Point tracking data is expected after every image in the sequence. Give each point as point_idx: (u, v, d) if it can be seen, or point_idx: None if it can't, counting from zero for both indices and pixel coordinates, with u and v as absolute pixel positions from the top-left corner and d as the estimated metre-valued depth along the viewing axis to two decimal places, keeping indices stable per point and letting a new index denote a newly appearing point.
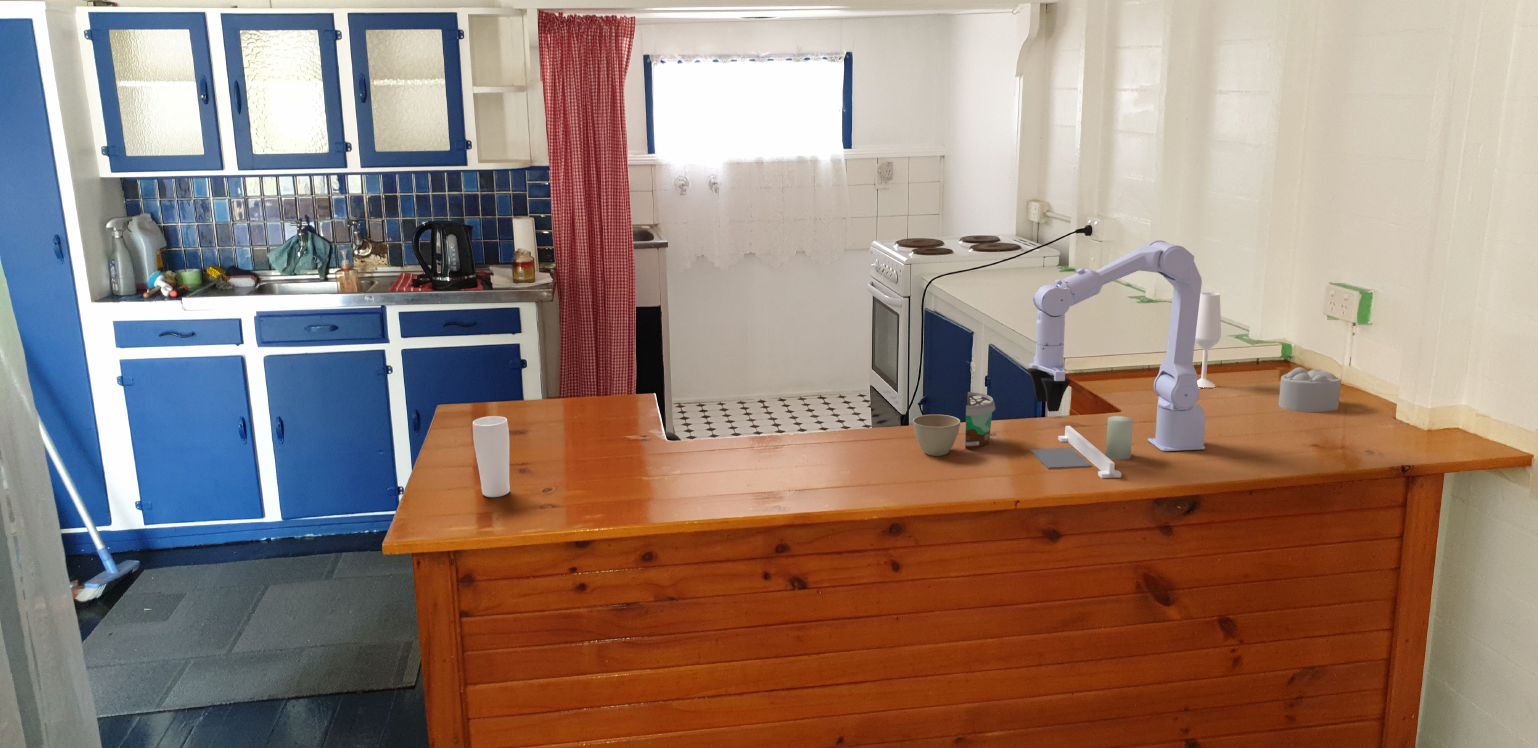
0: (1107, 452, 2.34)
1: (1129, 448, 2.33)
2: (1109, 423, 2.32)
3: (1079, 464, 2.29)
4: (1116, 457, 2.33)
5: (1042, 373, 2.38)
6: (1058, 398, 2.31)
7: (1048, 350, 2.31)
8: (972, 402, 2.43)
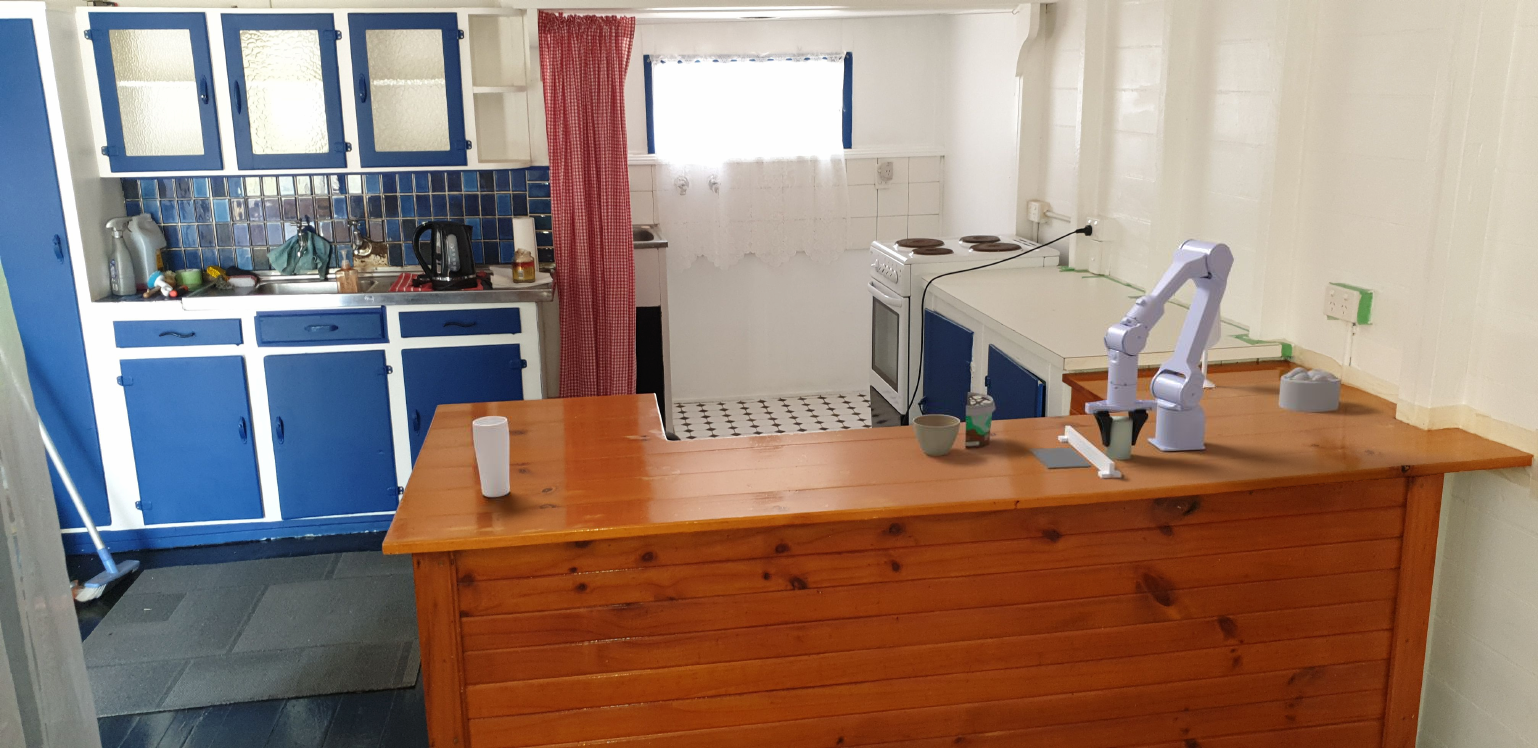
0: (1107, 452, 2.34)
1: (1129, 448, 2.33)
2: None
3: (1079, 464, 2.29)
4: (1116, 457, 2.33)
5: (1132, 415, 2.33)
6: (1105, 434, 2.33)
7: None
8: (972, 402, 2.43)
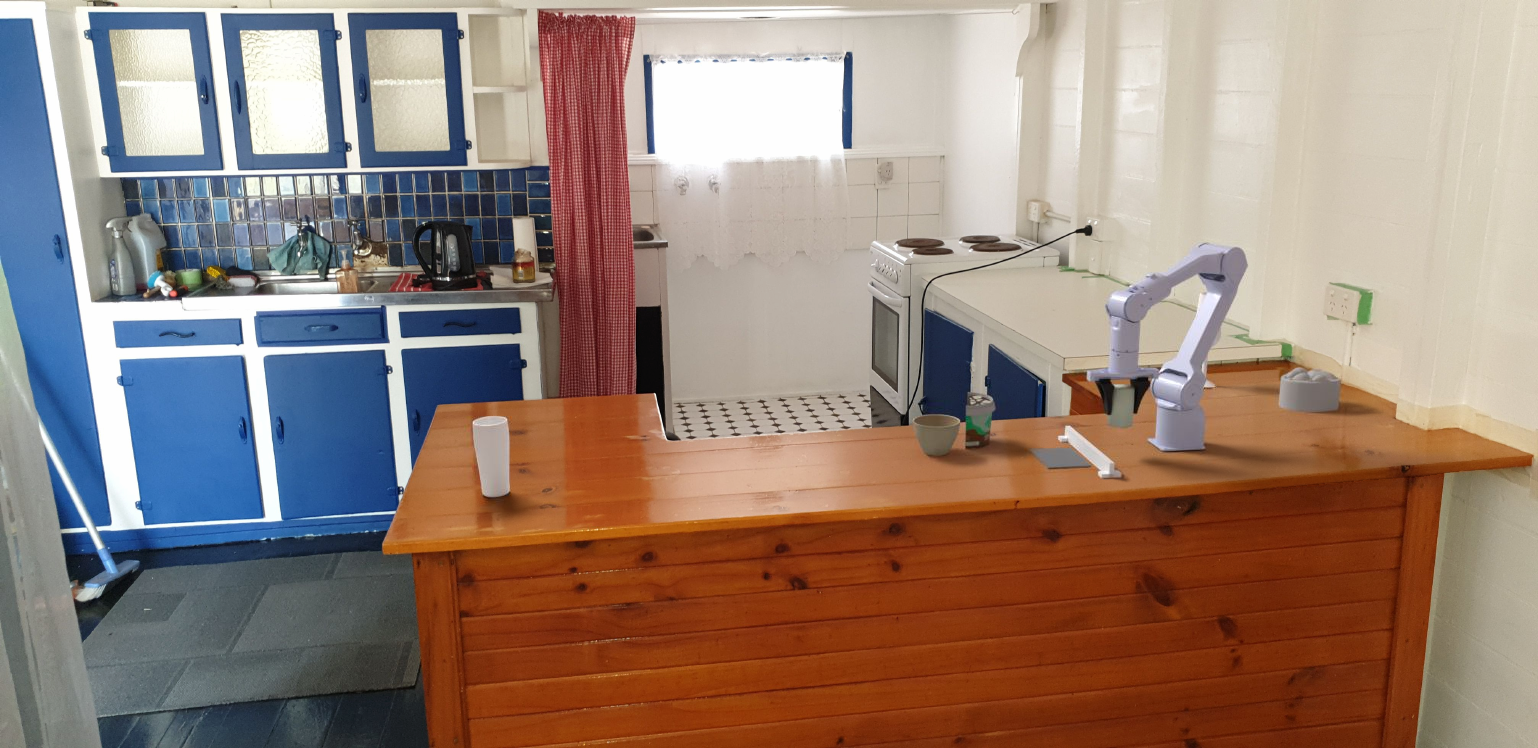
0: (1109, 420, 2.33)
1: (1131, 416, 2.31)
2: None
3: (1079, 464, 2.29)
4: (1118, 425, 2.31)
5: (1134, 383, 2.31)
6: (1107, 402, 2.31)
7: (1109, 353, 2.30)
8: (972, 402, 2.43)
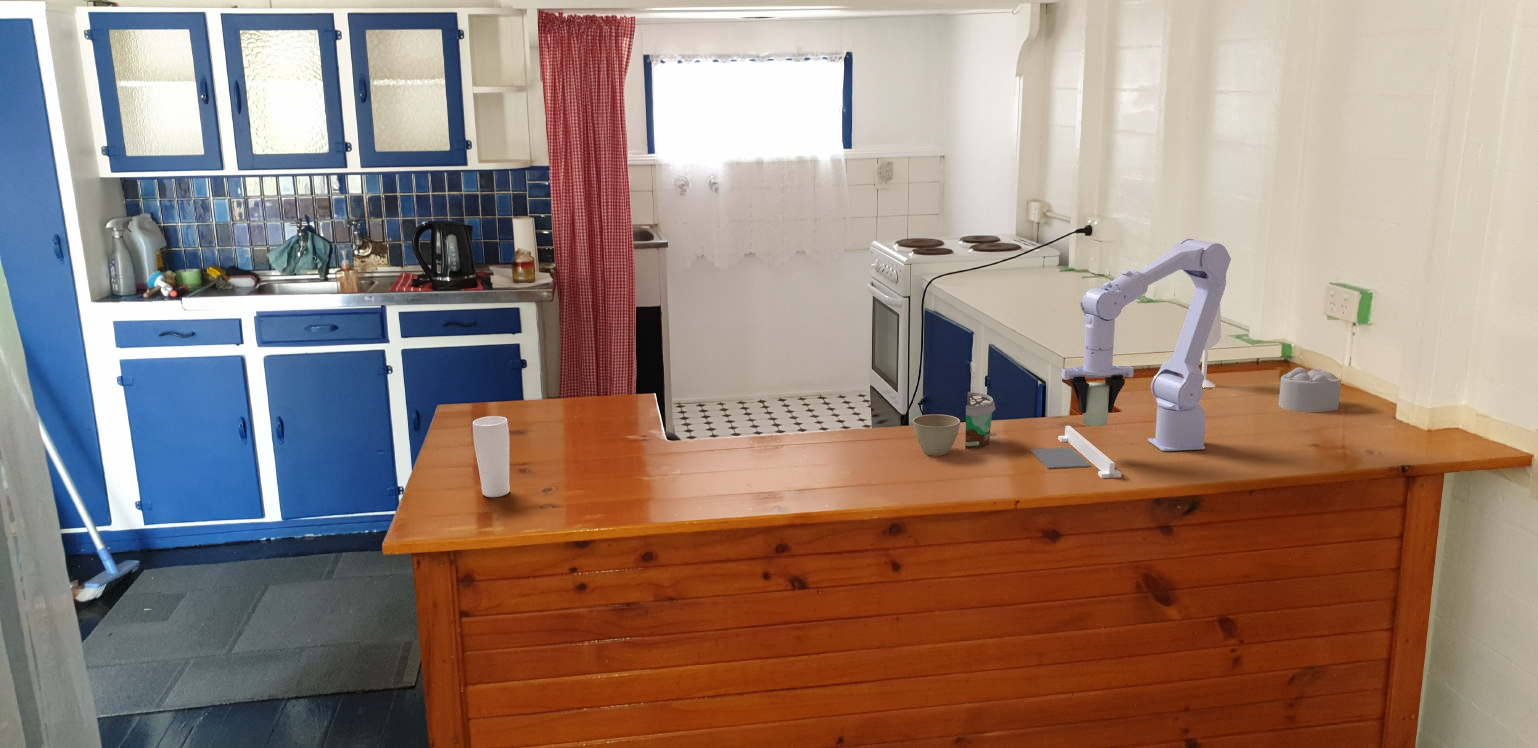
0: (1083, 418, 2.32)
1: (1106, 414, 2.30)
2: None
3: (1079, 464, 2.29)
4: (1092, 423, 2.30)
5: (1109, 381, 2.31)
6: None
7: (1084, 351, 2.30)
8: (972, 402, 2.43)
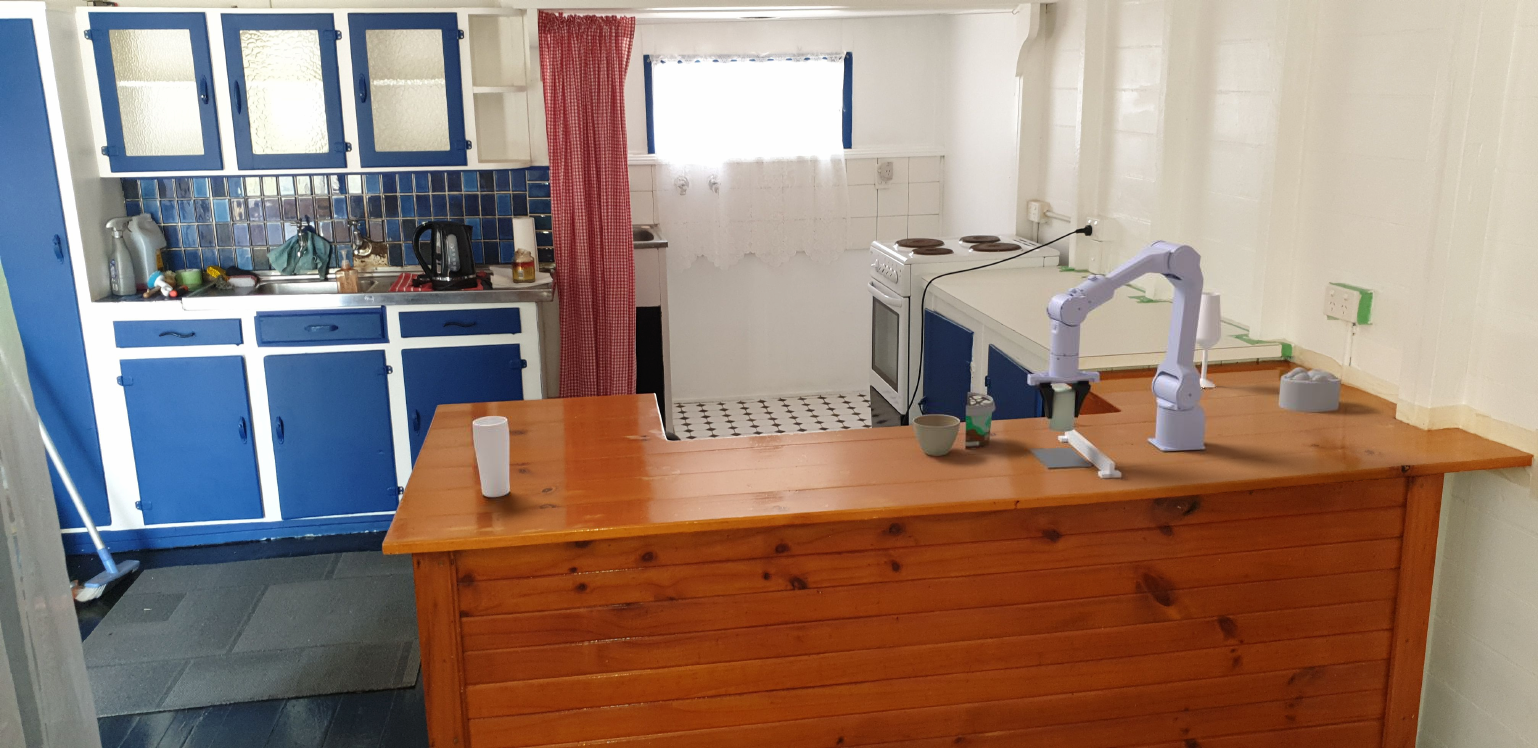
0: (1050, 424, 2.32)
1: (1072, 420, 2.30)
2: None
3: (1079, 464, 2.29)
4: (1059, 429, 2.30)
5: (1075, 387, 2.31)
6: None
7: None
8: (972, 402, 2.43)
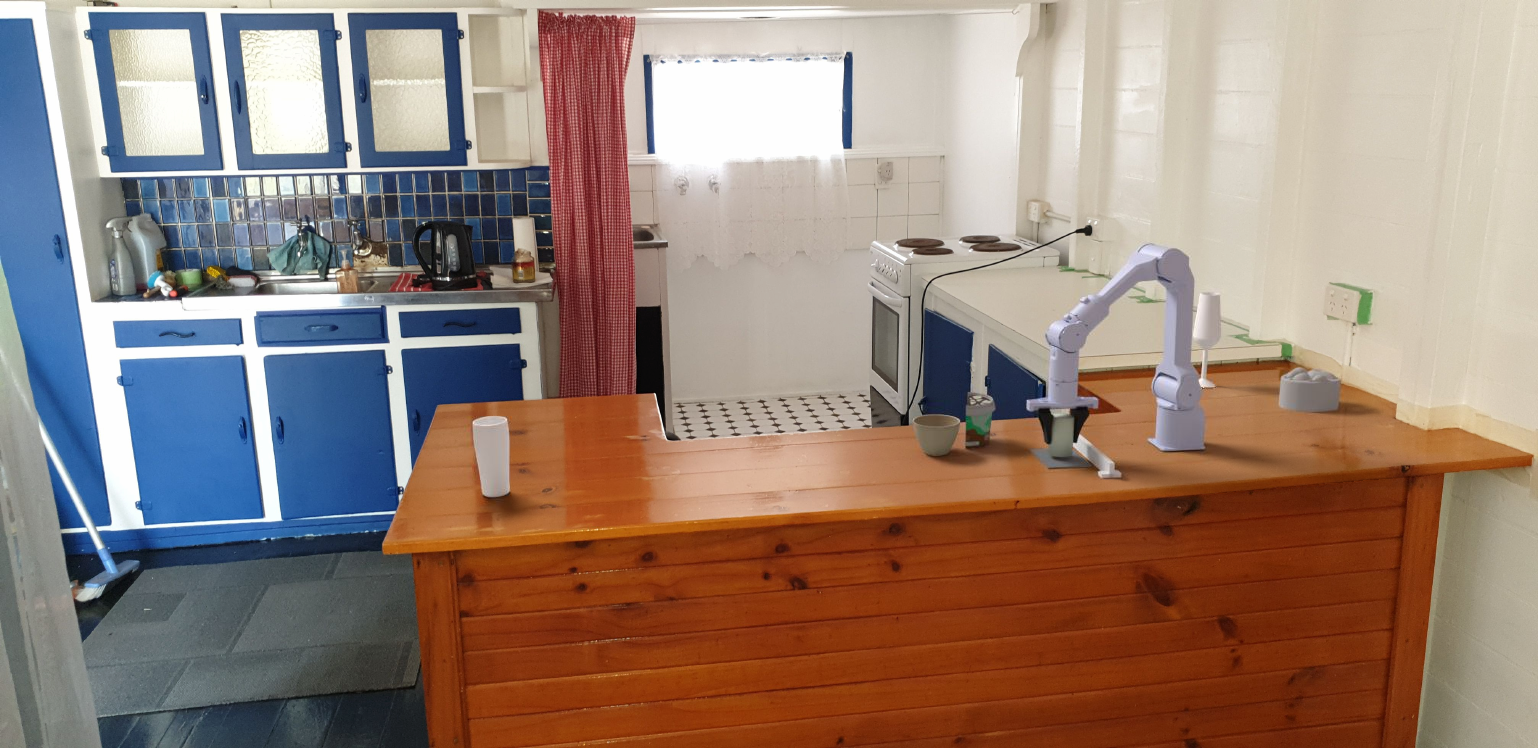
0: (1049, 449, 2.33)
1: (1071, 445, 2.31)
2: None
3: (1079, 464, 2.29)
4: (1057, 454, 2.31)
5: (1074, 413, 2.32)
6: None
7: None
8: (972, 402, 2.43)
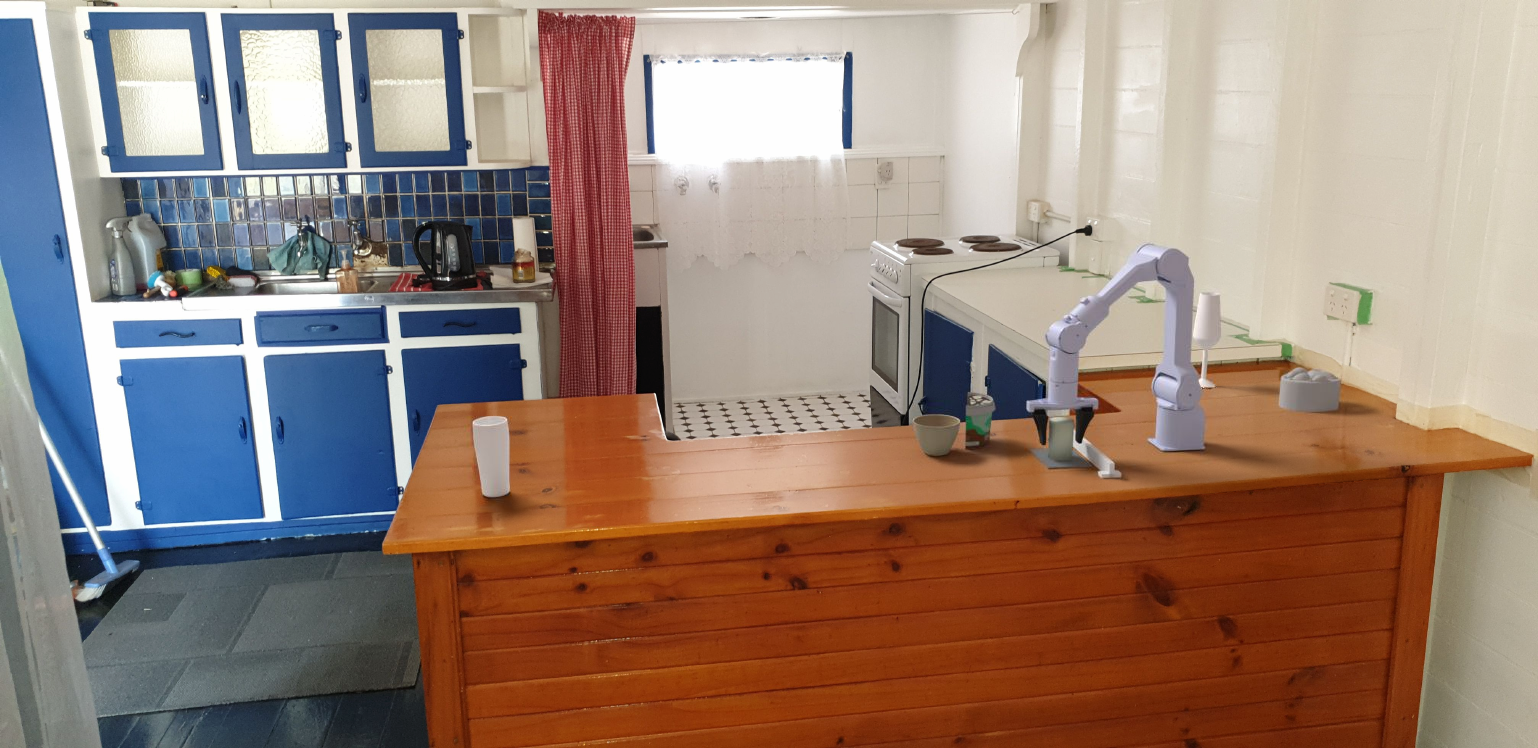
0: (1049, 453, 2.33)
1: (1070, 449, 2.32)
2: (1050, 424, 2.31)
3: (1079, 464, 2.29)
4: (1057, 458, 2.32)
5: (1079, 413, 2.32)
6: None
7: None
8: (972, 402, 2.43)
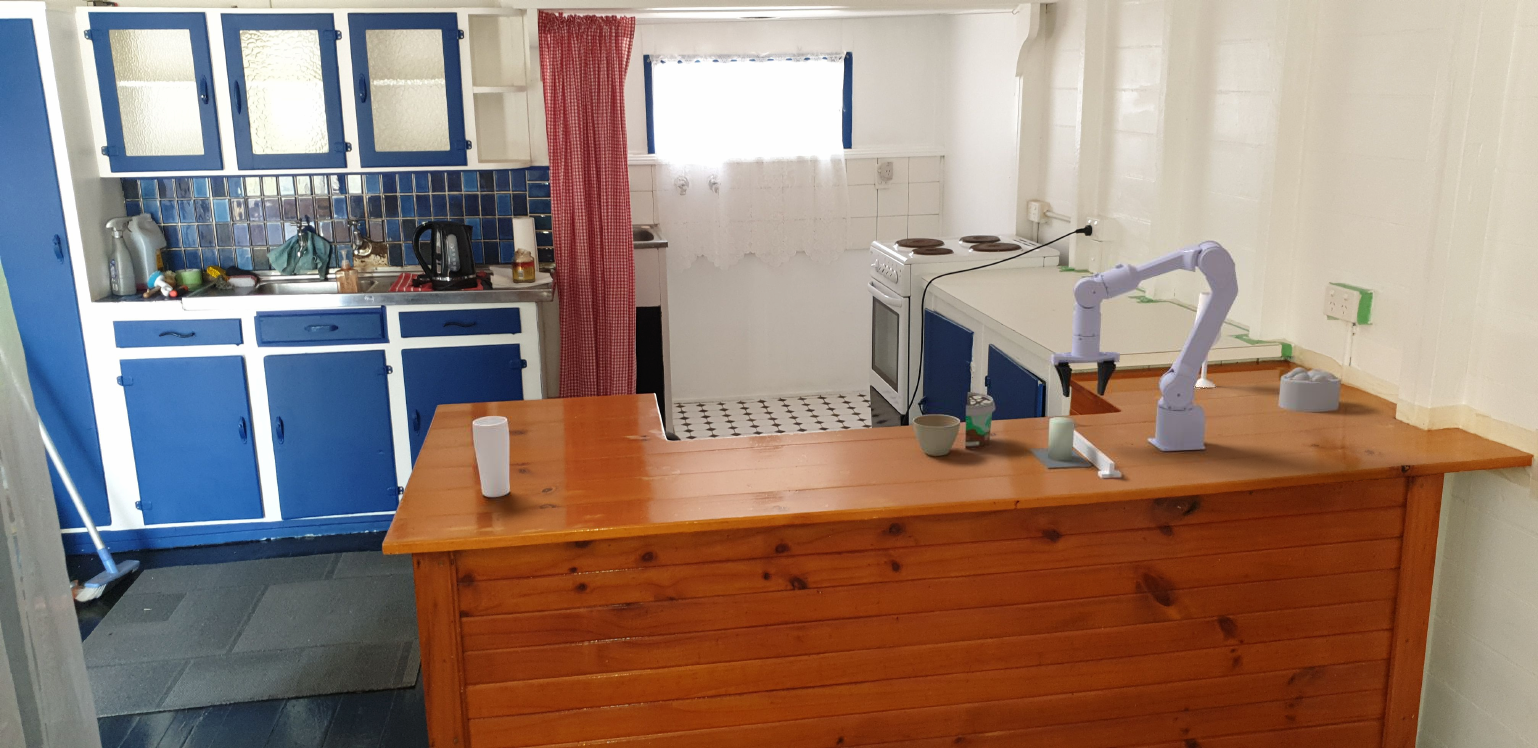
0: (1049, 453, 2.33)
1: (1070, 449, 2.31)
2: (1050, 424, 2.31)
3: (1079, 464, 2.29)
4: (1057, 458, 2.32)
5: (1101, 366, 2.42)
6: None
7: (1072, 338, 2.40)
8: (972, 402, 2.43)
